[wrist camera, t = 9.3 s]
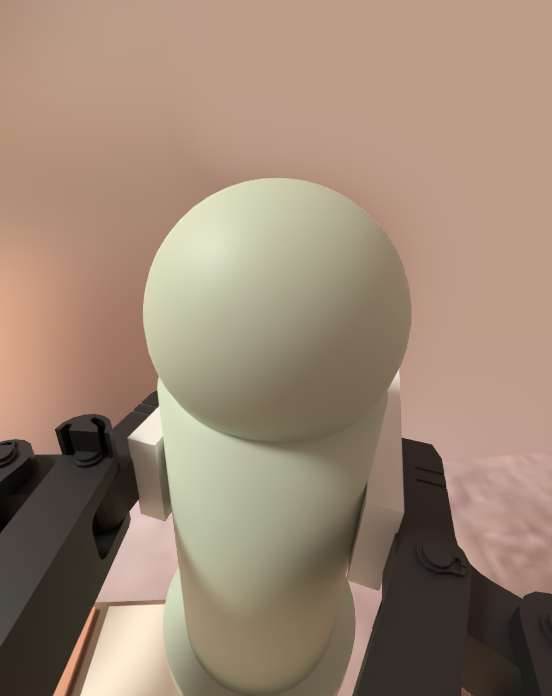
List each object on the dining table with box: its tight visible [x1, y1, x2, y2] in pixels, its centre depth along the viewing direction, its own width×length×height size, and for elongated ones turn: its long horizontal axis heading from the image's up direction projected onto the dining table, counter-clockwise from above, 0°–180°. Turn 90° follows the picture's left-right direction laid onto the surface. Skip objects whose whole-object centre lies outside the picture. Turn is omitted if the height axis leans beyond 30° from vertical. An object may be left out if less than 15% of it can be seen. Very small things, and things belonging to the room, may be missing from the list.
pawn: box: [143, 178, 411, 696], centre depth 9 cm, size 6×6×14 cm
